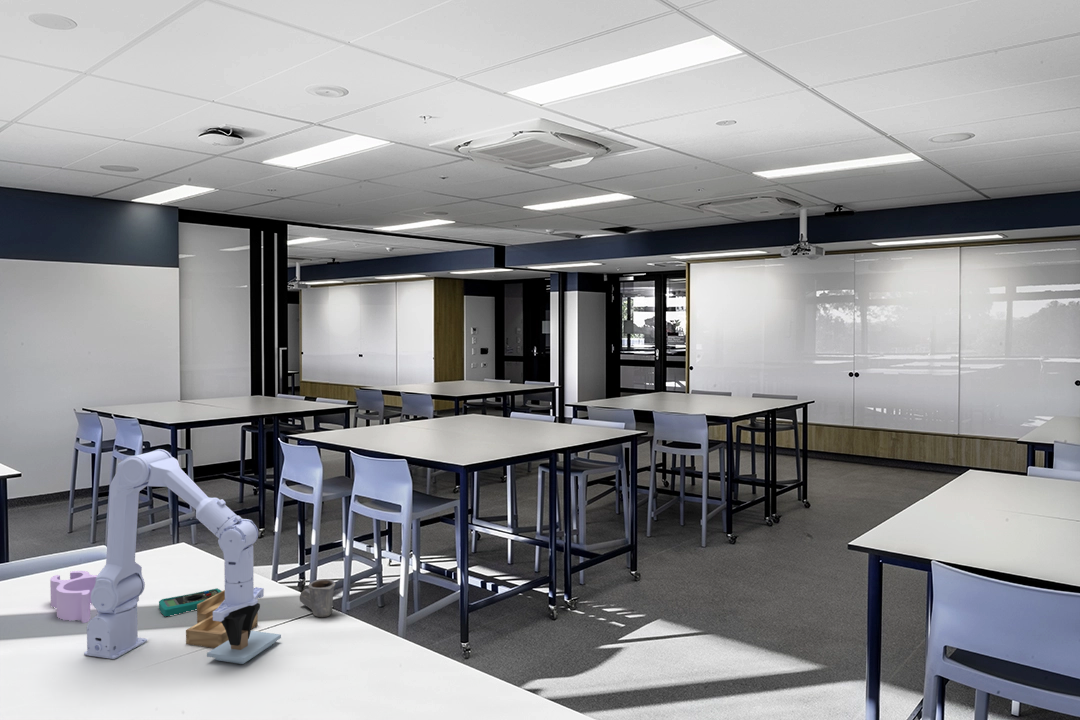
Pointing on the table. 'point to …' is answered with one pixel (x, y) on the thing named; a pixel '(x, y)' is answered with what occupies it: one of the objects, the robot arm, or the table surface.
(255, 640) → the lid
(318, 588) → the pipe
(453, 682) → the table surface
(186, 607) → the digital multimeter
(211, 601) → the toolbox
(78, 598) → the clip
